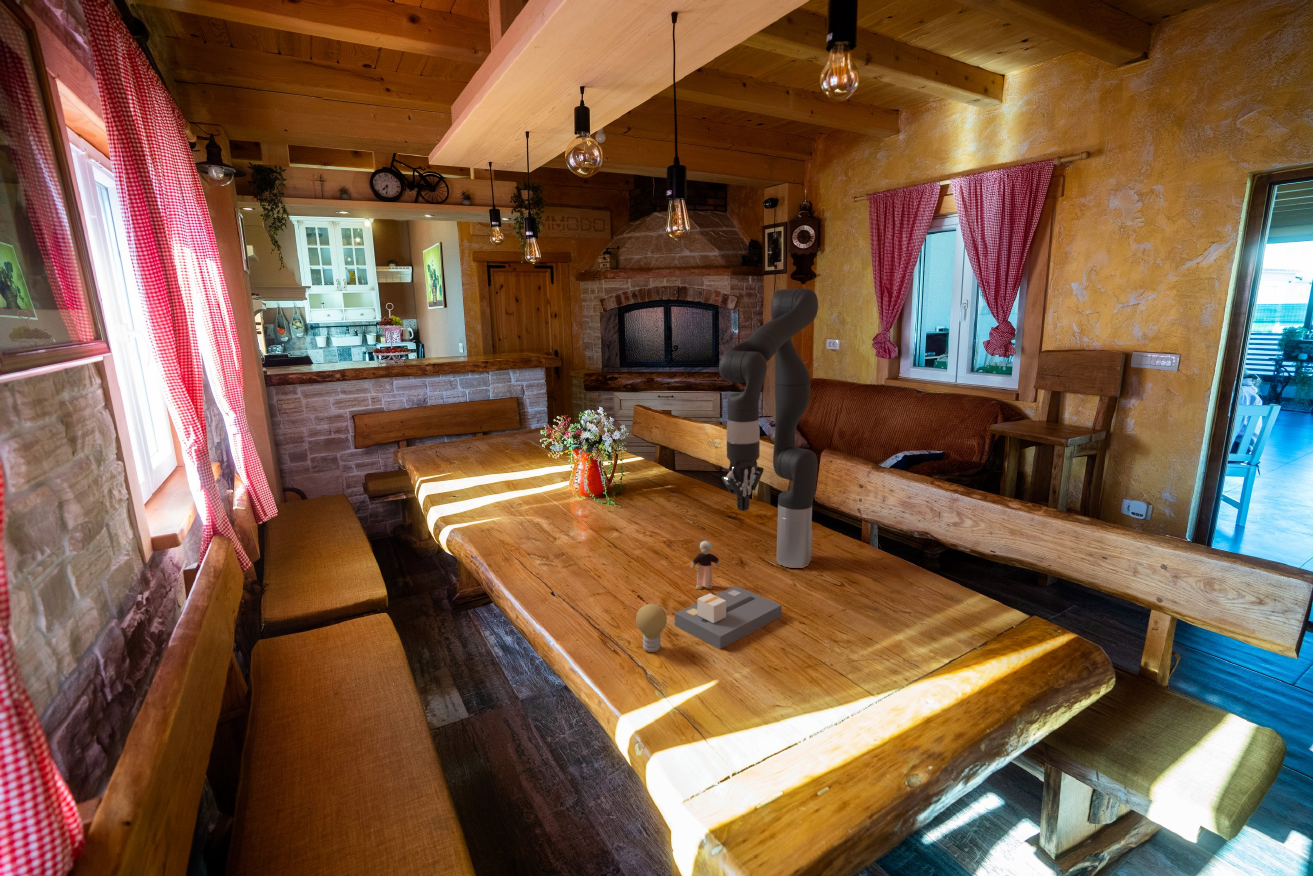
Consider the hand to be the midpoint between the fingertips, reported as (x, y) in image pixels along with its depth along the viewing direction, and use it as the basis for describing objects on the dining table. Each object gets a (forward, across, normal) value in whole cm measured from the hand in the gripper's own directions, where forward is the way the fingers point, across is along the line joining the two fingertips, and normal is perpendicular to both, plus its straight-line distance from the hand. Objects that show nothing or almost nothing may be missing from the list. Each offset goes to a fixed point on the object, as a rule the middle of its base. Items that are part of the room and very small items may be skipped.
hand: (743, 509), depth 148 cm
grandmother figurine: (+24, 0, -12) cm, 27 cm away
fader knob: (+20, +15, +3) cm, 26 cm away
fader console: (+24, +9, +3) cm, 26 cm away
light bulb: (+23, +30, 0) cm, 38 cm away
